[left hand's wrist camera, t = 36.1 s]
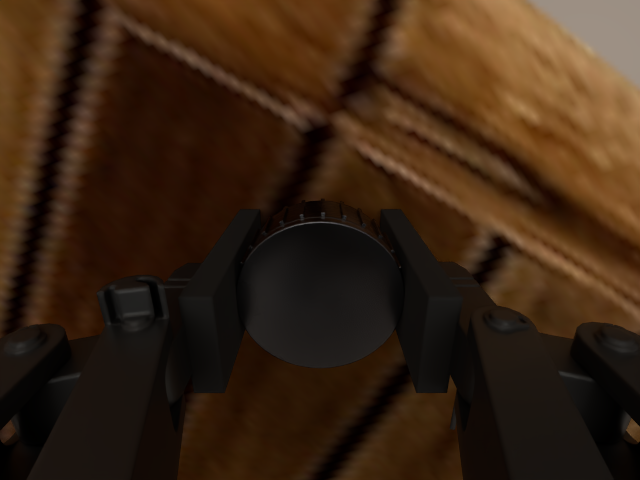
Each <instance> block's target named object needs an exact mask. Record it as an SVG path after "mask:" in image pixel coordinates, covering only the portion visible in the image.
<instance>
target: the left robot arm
mask: <svg viewBox="0 0 640 480" xmlns="http://www.w3.org/2000/svg"><path fill="white" fill-rule="evenodd" d="M257 229H261V222H260V210H251V209H240V211H239V212H238V213H237V215H236V216H235V218H234V219H233V220H232V222H231V223H230V225H229V226H228V228H227V229H226V230H225V232H224V233H223V235H222V236H221V237H220V239H219V240H218V242H217V243H216V244H215V246H214V247H213V249H212V250H211V252H210V253H209V254H208V256H207V257H206V259H205V260H204V261H203V263H187V264H185V265H184V266H182V267H180V268H178V269H177V270H175V271H174V272H173V273H172V275H171V276H170V277H169V278H168V281H166V282H165V283H163V280H162V279H160V278H159V277H157V276H152V275H136V276H130V277H125V278H122V279H119V280H116V281H113V282H111V283H109V284H107V285H105V286H103V287H102V288H101V289H100V290H99V291H98V292H97V296H98V300H99V304H100V308H101V312H102V315H103V319H104V323H105V327H104V329H103V331H102V333H101V334H100V335H96V336H91V337H86V338H80V339H75V340H69V341H68V338H67V335H66V332H65V329H64V328H63V327H61V326H60V325H56V324H40V325H38V324H37V325H31V326H29V327H28V326H27V327H24V328H20V329H18V330H17V331H15V332H13V333H10V334H8V335H6V336H4V337H3V338H1V339H0V430H1V429H2V428H3V427H4V426H5V425H6V424H7V423H8V422H9V421H10V420H11V421H12V423H13V426H14V428H15V430H16V432H15V433H14V435H13V436H12V437H11V438H10V439H9V440H8V441H6V442H5V443H4V444H3V443H2V442H1V440H0V480H177V474H178V466H179V458H180V449H181V441H182V433H183V425H184V416H185V408H186V403H185V397H184V390H185V388H186V385H187V383H188V381H189V379H190V377H191V378H192V384H193V389H194V393H225V390H226V387H227V384H228V381H229V378H230V375H231V371H232V368H233V365H234V362H235V359H236V356H237V353H238V350H239V347H240V344H241V341H242V338H243V335H244V331H245V327H244V325H243V323H242V321H241V319H240V316H239V313H238V307H237V297H236V285H237V279H238V276H239V272H240V270H241V268H242V266H240V263H241V261H242V259H243V256H244V254H245V252H246V250H247V248H248V246H249V244H250V243H251V241H252V239H253V237H254V235H255V233H256V231H257ZM380 230H381V231H382V233H384V232H385V233H386V234H387V236H388V239H389V241H390V243H391V245H392V247H393V249H394V251H395V254H396V256H397V258H398V260H399V262H400V265H401V267H402V270H401V273H402V277H403V280H404V287H405V297H404V306H403V312H402V315H401V318H400V320H399V322H398V324H397V326H396V328H395V329H396V332H397V335H398V338H399V341H400V344H401V347H402V350H403V353H404V356H405V359H406V362H407V365H408V369H409V372H410V375H411V378H412V381H413V384H414V387H415V390H416V393H447V389H448V383H449V378H450V375H451V377H452V379H453V381H454V383H455V386H456V388H457V392H456V397H455V403H454V408H453V413H452V419H451V425H450V429H453V430H455V426H456V424H457V432H458V440H459V448H460V457H461V465H462V473H463V480H640V442H639V443H638V442H637V441H636V440H634V439H633V438H632V437H631V436H630V435H629V433H628V432H627V431H626V429H627V427H628V424H629V422H630V420H631V418H632V419H633V420H634V421H635V422H636V423H637V424H638V425H639V426H640V336H639V335H637V334H635V333H633V332H631V331H628V330H626V329H625V328H623V327H620V326H617V325H613V324H609V323H597V322H589V323H582V324H581V325H580V326H578V327H577V330H576V333H575V336H574V339H569V338H564V337H558V336H553V335H548V334H543V333H539V332H538V331H537V329H536V327H535V325H534V324H533V323H532V322H531V320H530V319H529V318H527V317H526V316H524V315H523V314H521V313H519V312H517V311H514V310H512V309H509V308H506V307H501V306H497V305H496V304H495V303H494V302H493V300H492V299H491V298H490V297H489V296H488V295H487V293H486V292H485V291H484V290H483V289H482V287H480V286H479V284H478V283H477V281H476V280H474V279H473V277H472V276H471V274H470V273H469V272H468V271H467V270H466V269H465V268H463V267H461V266H460V265H458V264H456V263H454V262H438V261H437V260H436V259H435V257H434V256H433V254H432V253H431V251H430V250H429V249H428V247H427V246H426V244H425V243H424V242H423V240H422V239H421V237H420V236H419V235H418V233H417V232H416V230H415V229H414V228H413V226H412V225H411V223H410V222H409V220H408V219H407V218H406V216H405V215H404V213H403V212H402V211H401V209H382V210H381V221H380Z"/></svg>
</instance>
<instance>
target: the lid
mask: <svg viewBox="0 0 640 480" xmlns="http://www.w3.org/2000/svg"><path fill="white" fill-rule="evenodd" d="M240 266H242V268H241V270H240V272H239V276H238V279H237V285H236V297H237V307H238V313H239V316H240V319H241V321H242V323H243V325H244V327H245V329H246V330H247V332H248V333H249V335H250V336H251V337H252V338H253V339H254V341H255V342H256V343H257V344H258V345H259V346H261V347H262V348H263V349H264V350H265V351H267V352H268V353H270V354H271V355H273V356H275V357H277V358H279V359H281V360H283V361H286V362H288V363H291V364H294V365H298V366H303V367H309V368H331V367H338V366H342V365H346V364H350V363H353V362H355V361H358V360H360V359H362V358H364V357H366V356H368V355H369V354H371V353H372V352H374V351H375V350H377V349H378V348H379V347H380V346H381V345H382V344H384V342H385V341H386V340H387V339H388V338H389V337H390V336H391V334H392V333H393V331H394V330H395V328H396V326H397V324H398V322H399V320H400V318H401V315H402V312H403V306H404V297H405V287H404V280H403V277H402V273H401V270H402V267H401V265H400V262H399V260H398V258H397V256H396V254H395V251H394V249H393V247H392V245H391V243H390V241H389V239H388V236H387V234H386V233H385V232H384V233H382V231H381V230H380V228H379V227H378V225H377V222H376V220H375V219H372V220H371V219H370V218H369V217H368V216H366V215H365V214H363V213H362V211H361V209H359V208H358V209H357V210H356V209H354V208H352V207H350V206H347V205H344V202H342V201H340V203H337V202H332V201H325V199H321V201H309V202H305V200H303V201H302V203H299V204H296V205H293V206H290V207H287V206H285V207H284V208H283V210H282V211H281V212H279V213H277V214H276V215H274V216H273V217H272V216H269V217H268V220H267V222H266V223H265V225H264V226H263V227H262V228H261V229H257V231H256V233H255V235H254V237H253V239H252V241H251V243H250V244H249V246H248V248H247V250H246V252H245V254H244V256H243V259H242V261H241V263H240Z"/></svg>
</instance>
